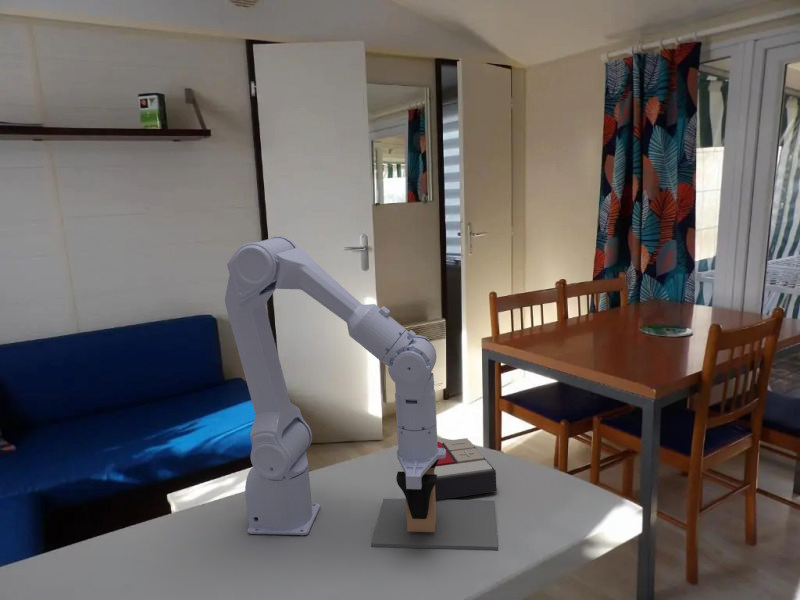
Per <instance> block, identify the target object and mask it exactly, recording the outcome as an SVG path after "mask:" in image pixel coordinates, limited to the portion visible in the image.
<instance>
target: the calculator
mask: <svg viewBox="0 0 800 600" xmlns="http://www.w3.org/2000/svg"><path fill="white" fill-rule="evenodd" d="M437 445H438V448H445V449H446V457H445V458H444V459H439V461H438V462H437V465H436V467H435V470H434V472H435V474H437V480H436V483H435V496H436V500H449V499H453V498H460V497H467V496H473V495H474V496H475V495H482V494H488V493H495V492H496V491H497V470H496V469H495V468H494V467H493V466H492V464H491V463H489V461H488V460H487V459H486V458H485V457H484V455H483V454H482V453H481V452H480V451H479V450H478V448H477V447H476V446H475V445H474V444H473V443H472V442H471V441H470V440H469V438H459V439H449V440H443V442H440V441H437Z"/></svg>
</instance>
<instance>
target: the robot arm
mask: <svg viewBox="0 0 800 600" xmlns="http://www.w3.org/2000/svg"><path fill="white" fill-rule="evenodd" d="M226 265H227V270H228V273H229V275H228V276H229V277H228V280H227V286H226V291H225V296H224V302H225V309H226V311H227V315H228V319H229V323H230V325H231V331H232V334H233V337H234V341H235V345H236V349H237V352H238V356H239V360H240V362H241V366H242V367H241V368H242V370H243V374H244V377H245V381H246V385H247V387H248V393H249V396H250V400H251V403H252V406H253V411H254V419H253V423H252V427H251V430H250V434H249V438H250V440H251V452H250V461H251V462H250V463H251V464H252V467H251V468H250V470H249V471H248V474H247V475H246V480H245V486H244V487H245V489H244V492H245V493H244V494H245V502H246V511H247V519H248V521H247V522H248V528H247V530H246V531H247V534H250V535H252V534H255V535H285V536H287V535H291V536H294V535H295V536H306V535H308V534H309V533H310V530H311V528H312V526H313V524H314V521H315V519H316V518H317V515H318V513H319V511H320V509H321V504H320V503H312V492H311V481H310V479H311V478H310V470H309V461H308V457H307V449H308V448H309V447H310V446H311V444H312V440H313V433H312V430H311V428H310V426H309V425H308V423H307V422H306V421H305V419H304V418H303V416H302V412H301V409H300V407H298V406H296V405H295V404H294V403H292V402H291V400H290V396H289V392H288V387H287V384H286V383H287V382H286V380H285V377H284V372H283V369H282V365H281V361H280V358H279V353H278V349H277V346H276V342H275V338H274V334H273V331H272V326H271V323H270V322H271V321H270V319H269V315H268V311H267V307H266V305H267V302H268V301H269V299H270V298H271V296H272V295H273V293H274V292H275V291H276V289H277V290H300V291H302V292H304V293H305V294H306V295H308V296H309V297H311V298H312V299H314V300H315V301H316V302H317V303H319V304H320V305H322V306H323V307H325V308H326V309H327V310H329V311H330V312H332V314H334V315H335V316H337V317H338V318H339V319H341V320H343V321H344V322H346V325H347V326H346V327H347V331H348V335H349V337H350V338H351V339H353V340H354V341H355V342H356V343H358V344H359V345H360V346H362V348H364V350H367V352H369V353H370V354H371V355H372V356H373V357H375V358H376V359H378V361H380V362H381V363H382V364H384V365H386V366H387V371H388V375H389V377H390V380H392V381H393V383H394V385H395V387H394V388H395V393H394V398H395V399H394V401H395V416H396V430H397V431H396V434H397V450H396V457H397V460H398V462H399V465H400V466H401V468H402V470H403V471H397V473H396V484H397V486H398V487H399V488H400V490H401V492H403V495H404V496H405V499H406V500H407V503H408V507H409V510H410V513H411V516H412V518H413V519H426V518H427V514H428V508H429V499H430V495H431V491H432V489H433V487H434V485H435V483H436V480H437V474H425V473H426V471H427V470H428V469H429V468H434V470H435V467H436V465H437V462H438V461H439V459H444V458H445V457H446V449H445V448H438V445H437V442H438V433H437V432H438V431H437V430H438V428H437V427H438V426H437V425H438V424H437V423H438V421H437V405H436V399H437V398H436V389H435V380H434V373H433V369H434V368H435V365H436V363H437V351H436V348H435V346H434V345H433V344H432V343H431V341H430V340H429V338H428V337H426V336H423V335H419V334H417V333H416V332H414V330H412V329H410V330H409V331H408V330H407V329H406V328H405V327H404V326H403V325H401V324H400V323H399V322H398V321H396V320H395V319H394V318H393V317H392V316H390V315H389V314H390V312H391V310H389V309H388V307H386V306H384V305H383V306H382V307H379V306H378V305H377V304H376V303H371V304H364V303H361V302H360V301H359V300H358V299H356V298H355V296H353V295H352V294H351V293H350V292H349V291H348V290H347V289H345V287H343V286H342V285H341V284H340V283H339V282H338V281H337V280H336V279H335V278H334V277H332V276H331V275H330V274H329V273H328V272H327V271H326V270H324V269H323V268H322V267H321V266H320V265H319V264H318V263H317V262H316V261H315V260H314V259H313V258H312V257H311V256H310V254H309V253H308V252H307V251H306V250H305V249H303V248H301V247H299V246H298V247H297V245H296V244H295V243H294V242H293V241H292V240H291V239H289V238H288V237H285V236H278V235H277V236H273V237H271V238H268V239H264V240H260V241H257V242H248V243H245V244H242V245H240V247H238V249H237V250H236V251H235V253H234V254H233V255H232V257H231V258H230V259H229V261H228V262H227V263H226Z"/></svg>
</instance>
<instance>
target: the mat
mask: <svg viewBox="0 0 800 600" xmlns="http://www.w3.org/2000/svg"><path fill="white" fill-rule="evenodd" d="M496 514H497V511H496V501H495V500H494V499H493V500H491V499H441V500H436V525H435V532H410V531H407V515H406V498H383V499H382V503H381V506H380V510H379V513H378V515H377V516H378V518H377V521H376V524H375V526H374V528H375V529H374V532H373V536H372V539H371V542H370V546H371V547H372V548H374V547H375V548H377V547H378V548H403V549H404V548H406V549H407V548H408V549H411V548H412V549H439V550H440V549H441V550H442V549H445V550H476V551H478V550H479V551H480V550H484V551H485V550H486V551H499V545H498V544H499V543H498V530H497V517H496Z"/></svg>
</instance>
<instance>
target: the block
mask: <svg viewBox="0 0 800 600" xmlns="http://www.w3.org/2000/svg"><path fill="white" fill-rule="evenodd" d="M425 474H435V472H434V468H429V469H428V470H427V471H426V473H425ZM406 515H407V531H410V532H435V525H436V496H435V485H434V487H433V489H432V491H431V495H430V499H429V508H428V514H427V518H426V519H413V518H412V516H411V513H410V510H409V507H408V503H407V500H406Z"/></svg>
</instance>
